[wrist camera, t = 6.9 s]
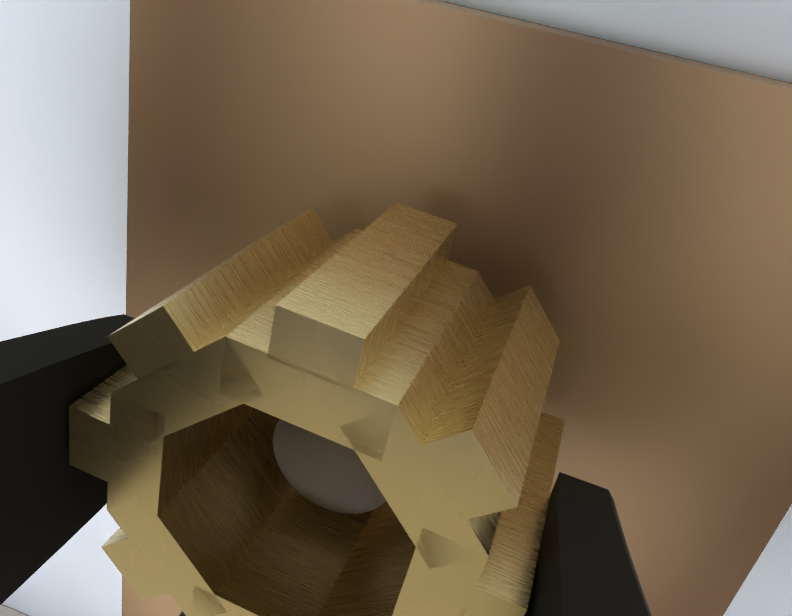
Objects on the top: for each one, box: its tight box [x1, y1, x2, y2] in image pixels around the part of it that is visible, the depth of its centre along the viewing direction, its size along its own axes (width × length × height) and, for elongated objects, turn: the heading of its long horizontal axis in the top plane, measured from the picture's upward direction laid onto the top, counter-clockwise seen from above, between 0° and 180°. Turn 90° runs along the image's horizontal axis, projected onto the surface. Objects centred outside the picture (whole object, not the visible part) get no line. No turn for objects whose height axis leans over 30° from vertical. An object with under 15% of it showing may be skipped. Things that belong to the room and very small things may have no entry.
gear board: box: [122, 0, 792, 616], centre depth 13 cm, size 12×18×4 cm, turn 170°
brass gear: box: [69, 203, 565, 616], centre depth 9 cm, size 6×6×4 cm
